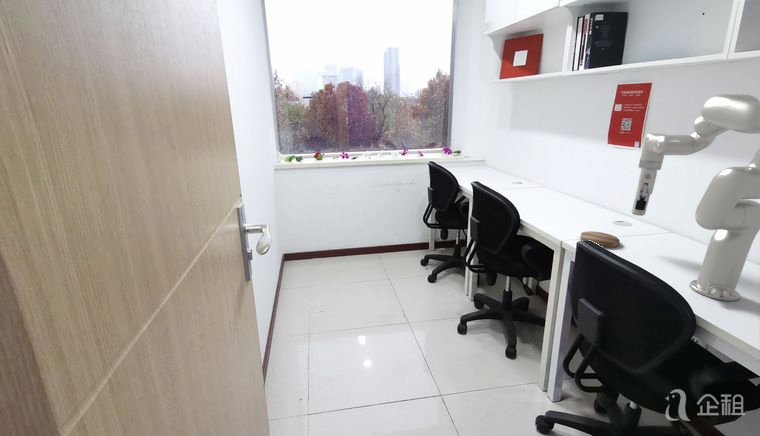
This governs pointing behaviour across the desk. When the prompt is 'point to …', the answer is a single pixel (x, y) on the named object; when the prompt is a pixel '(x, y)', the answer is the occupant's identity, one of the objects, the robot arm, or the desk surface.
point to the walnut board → (601, 239)
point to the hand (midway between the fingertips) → (639, 207)
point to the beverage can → (635, 211)
